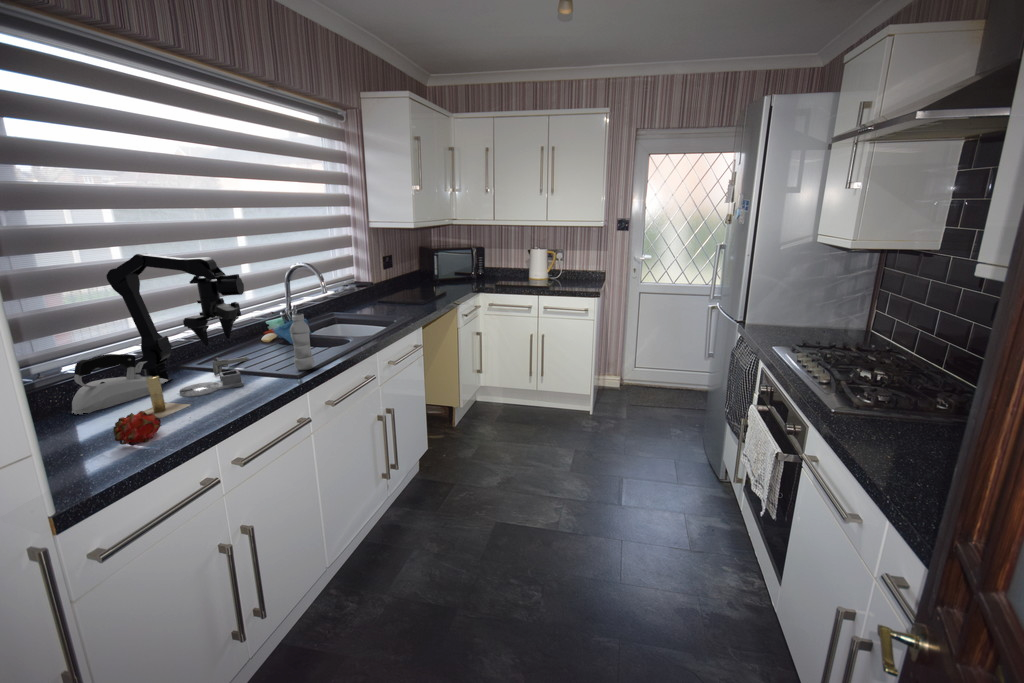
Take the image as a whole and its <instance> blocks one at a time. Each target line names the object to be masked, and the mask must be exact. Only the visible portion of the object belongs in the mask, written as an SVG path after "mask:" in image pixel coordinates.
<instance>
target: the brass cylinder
mask: <svg viewBox="0 0 1024 683" xmlns="http://www.w3.org/2000/svg"><path fill="white" fill-rule="evenodd" d="M147 384H148V388H149V393H150V394H149V397H150V401H151V406H152V407H153V411H154V413H159V412H163V411H165V410H166V406H165V398H164V394H163V388H162V384H161V383H160V378H159V376H152V377H148V378H147ZM152 407H151V408H152Z"/></svg>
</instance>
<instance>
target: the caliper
mask: <svg viewBox="0 0 1024 683" xmlns="http://www.w3.org/2000/svg"><path fill="white" fill-rule="evenodd" d="M248 360H250V357H248V356H243V357H237V358H231V359H227V358H224V359H220V357H214V358H213V361H212V370H213V375H214V376H219V375H220V374H219V373H222V370H223V368H226V367H227V368H228V367H229V365H231V364H236V363H241V362H246V361H248Z"/></svg>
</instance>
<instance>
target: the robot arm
mask: <svg viewBox="0 0 1024 683" xmlns="http://www.w3.org/2000/svg"><path fill="white" fill-rule="evenodd" d="M147 268H155V269H164V270H172V271H173V270H174V271H181V272H183V273H187V274H189V275H193V278H192V279H190V281H189V283H188V284H191V285H192V284H193V285H194V284H196V285H197V291H198V297H199V299H198V300H196V301H197V302H196V303H197V304H200V307H201V312H199V315H192V316H187V317H184V318H183V320H182V322H183V327H184V328H187V329H188V330H189V329H190V330H191V331H192V332H193V333H194V334H195V335H196V336H197V337H198V338H199V340H200V341H201V343H203V345H204V346H205V347H207V346H209V337H208V329H209V327H210V326H209V325H208V323H209V322H211V321H214V320H218V319H219V324H220V325H221V328H222V331H223V334H224V336H225V339H227V340H230V338H231V334H232V330H233V325H234V323H235V322H236V321H237V320H238V319H239V317H241V316H242V312H241V306H240V303H239V302H237V301H233V302H231V303H225V300H224V298H223V297H221V296H220V294H221V295H222V296H240V295H241V296H242V295H243V294H244V292H245V285H244V283H243V280H242V278H241V277H240V274H238V273H235V274H225V272H224V271H223V270H222V269H221V268H220V267H218V265H217V262H216V261H215V259H213V258H212V257H209V256H207V257H205V256H202V257H190V258H189V257H188V258H183V257H175V256H168V255H167V256H165V255H158V254H149V253H145V252H142V253H141V252H140V253H136V254H134V255H132V257H130V258H129V259H128V260H126V261H125V262H123V263H121V264H120V265H119V266H117V267H114V268H111V269H110V270H108V271H107V273H106V275H105V276H106V277H105V278H106V281H107V282H108V284H109V285H110V287H111V288H112V289H113V291H115V292H116V293H117V294H119V296H120V297H122V299H123V301H124V304H125V307H126V308H127V310H128V312H129V314H130V316H131V319H132V321H133V323H134V324H135V327H136V329H137V331H138V334H139V336H140V338H141V341H140V349H141V353H142V354H141V355H142V356H141V358H139V360H138V361H137V362H136V365H137V364H138V363H139V362H145V361H147V362H146V363H144V364H143V367H142V369H141V370H142V371H143V375H144V376H143V377H146V376H159V378H163V379H167V380H168V381H169V382H171V381H173V380H174V379H173V378H172V377H171V378H170V377H169V373H168V369H167V366H166V364H165V363H167V362H168V361H169V357H170V356H171V354H172V352H173V350H172V348H173V344H171V342H170V340H169V337H168V335H165V336H162V335H161V334H160V333H159V332H158V330H157V328H156V326H155V324H154V321H153V319H152V316H151V315H150V313H149V310H148V308H147V306H146V303H145V302H144V301H145V300H144V299H143V297H142V295H141V292H140V287H141V281H140V279H139V278H140V277H139V276H140V275H141V274H142V273H143V272H144V271H145V270H146V269H147ZM138 367H139V366H138ZM170 380H171V381H170ZM168 381H167V382H166V383H168Z"/></svg>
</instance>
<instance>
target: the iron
mask: <svg viewBox="0 0 1024 683" xmlns="http://www.w3.org/2000/svg"><path fill="white" fill-rule="evenodd" d="M146 362H147V361H145V362H139V363H138V364H137V363H136V356H135V355H133V354H125V353H124V354H123V353H121V354H119V353H118V354H117V353H108V354H99V355H96V356H93V357H89V358H86V359H81V360H79V361H77V362H76V363H75V366H74V374H73V375H74V376H73V380H74V382H75V383H76V384H77V385H79V386H81V387H80V388H79V389H78V390H77V391H76V393H75V395H73V399H72V401H71V414H73V413H74V414H73V415H77V414H79V415H84V414H83V413H88V414H91V413H93V412H96V411H99V410H103V409H107V408H111V407H113V406H117V405H119V404H123V403H127V402H129V401H130V402H131V401H133V400H137V399H141V398H142V397H146V396H150V393H149V388H148V384H147V378H148V377H152V376H146V377H145V376H142V375H141V374H139V373H141V372H142V370H143V369H142V367H143V364H144V363H146ZM116 366H121V367H122V368H125V369H126V370H127V371H126V375H125V376H119V377H108V378H102V379H98V380H93V381H89V382H88V383H86V384H85V383H84V382H83V378H82V377H83V376H89V375H91V373H92V372H93V371H94V370H97V369H106V368H107V369H108V368H112V367H116ZM138 366H139V367H138ZM136 373H137V374H136ZM167 381H168V380H167V379H163V378H160V383H161V385H163V384H165V382H166V383H168V382H167Z"/></svg>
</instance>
